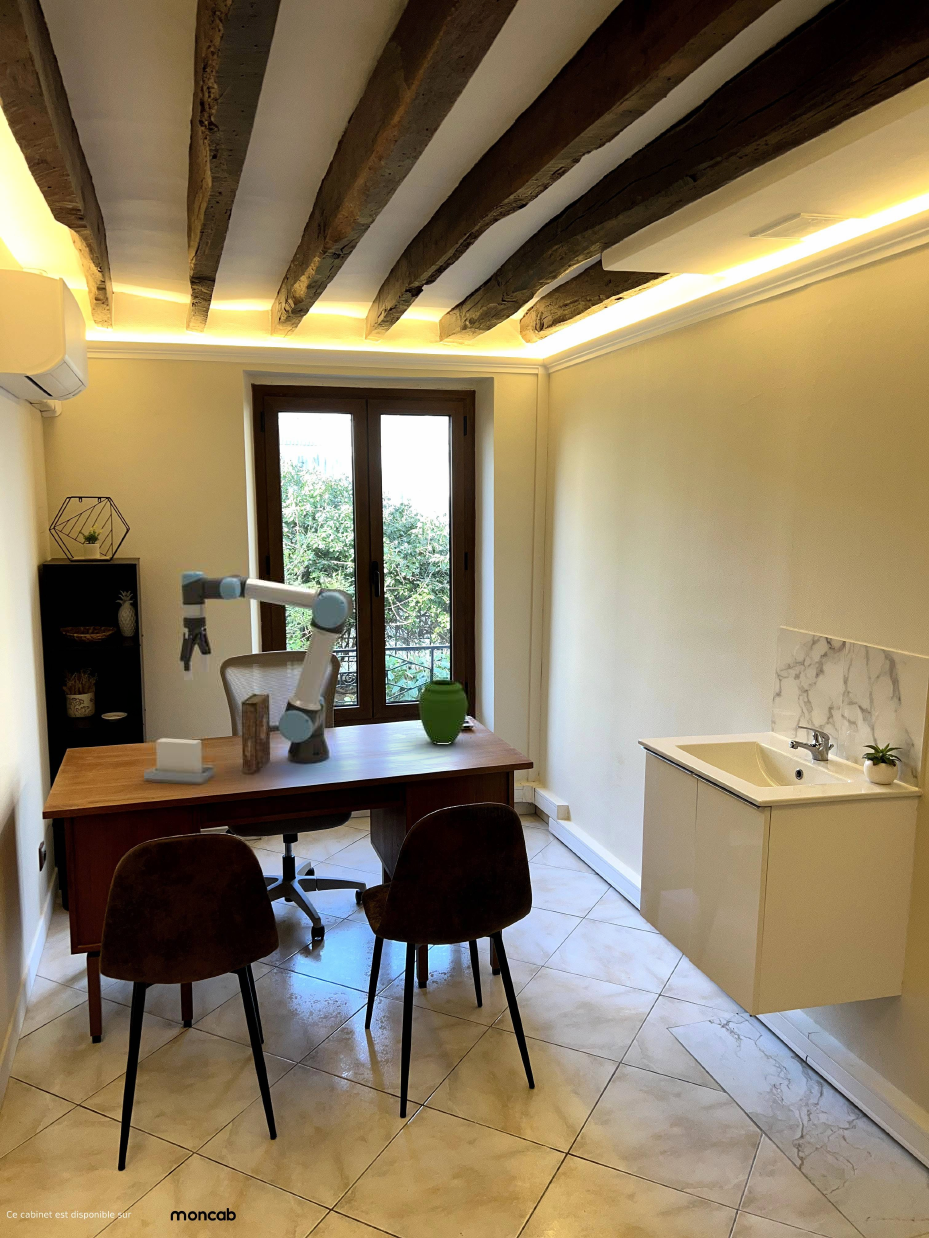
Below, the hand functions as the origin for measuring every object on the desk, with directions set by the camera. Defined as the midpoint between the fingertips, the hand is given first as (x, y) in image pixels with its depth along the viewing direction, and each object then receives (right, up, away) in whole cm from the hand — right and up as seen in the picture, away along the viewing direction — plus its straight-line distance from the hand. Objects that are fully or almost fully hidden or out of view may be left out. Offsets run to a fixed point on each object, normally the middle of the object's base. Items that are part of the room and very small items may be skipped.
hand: (196, 676), depth 286 cm
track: (-2, -34, -11) cm, 35 cm away
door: (-2, -33, -11) cm, 34 cm away
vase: (+85, -29, +38) cm, 98 cm away
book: (+20, -33, +3) cm, 38 cm away
